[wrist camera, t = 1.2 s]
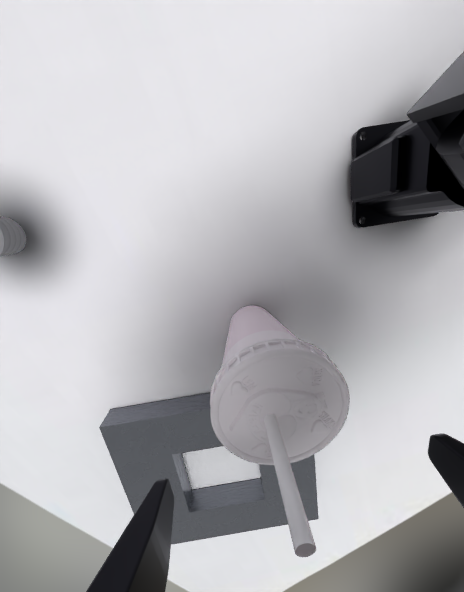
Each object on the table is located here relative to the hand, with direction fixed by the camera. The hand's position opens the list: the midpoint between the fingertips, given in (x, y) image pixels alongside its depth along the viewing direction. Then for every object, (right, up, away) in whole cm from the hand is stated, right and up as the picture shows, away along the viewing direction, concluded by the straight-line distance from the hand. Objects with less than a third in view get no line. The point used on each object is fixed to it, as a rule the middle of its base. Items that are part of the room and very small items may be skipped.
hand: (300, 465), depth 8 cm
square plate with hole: (-3, -11, +15) cm, 19 cm away
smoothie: (-1, +3, +12) cm, 12 cm away
